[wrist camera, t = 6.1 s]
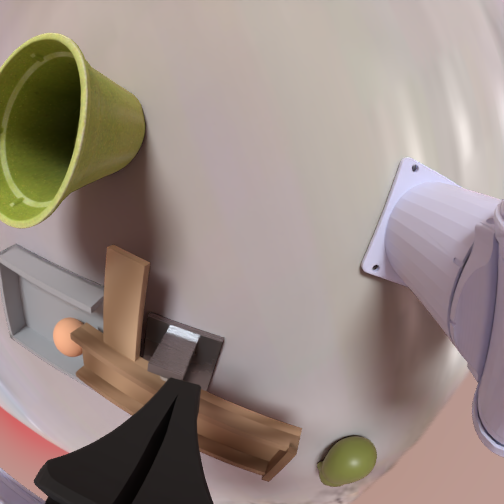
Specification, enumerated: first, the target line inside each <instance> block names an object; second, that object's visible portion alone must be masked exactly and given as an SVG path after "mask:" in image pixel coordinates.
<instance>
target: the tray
mask: <svg viewBox="0 0 504 504" xmlns="http://www.w3.org/2000/svg"><path fill="white" fill-rule="evenodd" d="M0 291H1V297H2V302H3V307H4V312H5V317H6V321H7V325H8V330H9V333H10V337H11V338H12V339H13V340H14V341H16V342H17V343H18V344H20V345H21V346H22V347H24V348H25V349H27V350H28V351H29V352H31V353H32V354H34V355H35V356H37V357H38V358H40V359H41V360H43V361H44V362H46V363H47V364H49V365H51V366H52V367H54V368H55V369H57V370H59V371H60V372H62V373H64V374H65V375H67V376H69V377H70V378H72V379H74V380H76V381H77V382H79V383H81V384H83V385H85V386H87V387H89V386H88V385H87V384H85V383H84V382H83V381H81V380H80V379H79V378H78V377H76V371H78V370H79V369H80V368H81V367H82V366H84V362H83V354H82V355H80V356H77V357H69V356H66V355H64V354H62V353H61V352H60V351H59V350H58V349H57V347H56V345H55V343H54V340H53V331H54V328H55V326H56V324H57V323H58V322H59V321H60V320H62V319H64V318H68V317H71V318H75V319H78V320H79V321H81V322H82V323H83V324H85V323H86V322H87V323H88V324H90V325H91V326H93V327H94V328H96V329H97V330H99V331H100V332H102V333H103V306H104V286H102V285H99V284H97V283H95V282H93V281H90V280H88V279H86V278H84V277H82V276H79V275H77V274H75V273H73V272H71V271H69V270H67V269H65V268H62V267H60V266H58V265H56V264H54V263H52V262H50V261H48V260H46V259H44V258H42V257H40V256H38V255H36V254H34V253H33V252H31V251H29V250H27V249H25V248H23V247H21V246H19V245H18V244H15V245H13V246H11V247H9V248H7V249H5V250H3V251H1V252H0ZM89 388H90V389H92V388H91V387H89ZM92 390H93V389H92ZM94 391H95V390H94Z"/></svg>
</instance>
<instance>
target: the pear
mask: <svg viewBox="0 0 504 504" xmlns="http://www.w3.org/2000/svg"><path fill="white" fill-rule="evenodd" d="M376 459H377V452H376V448H375V446H374V445H373V443H372V442H371V441H370V440H368V439H366V438H364V437H359V436H352V437H347V438H344V439H342V440H340V441H338V442H337V443H336V444H335V445H334V446H333V447H332V448H331V449H330V451H329V452H328V454H327V455H326V457H325V459H324V461H322V462H319V463H318V464H317V468H318V470H319V477H320V480H321V482H322V483H323V484H325V485H327V486H331V487H338V486H342V485H344V484H349V483H352V482H355V481H358V480H360V479H362V478H364V477H365V476H367V475H368V474H369V473H370V472H371V471H372V469H373V468H374V466H375V463H376Z"/></svg>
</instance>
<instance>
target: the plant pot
mask: <svg viewBox="0 0 504 504" xmlns="http://www.w3.org/2000/svg"><path fill="white" fill-rule="evenodd" d="M144 134H145V121H144V115H143V111H142V107H141V104H140V102H139V100H138V99H137V98H136V97H135V96H134V95H133V94H132V93H130V92H129V91H127V90H126V89H124V88H123V87H121V86H119V85H118V84H116V83H115V82H113V81H112V80H110V79H109V78H107V77H106V76H104V75H103V74H101V73H100V72H98V71H97V70H95V69H94V68H92V67H91V66H90V64H89V63H88V62H87V61H86V60H85V58H84V55H83V53H82V52H81V50H80V48H79V47H78V45H77V44H76V43H75V42H74V41H72V40H71V39H69V38H68V37H66V36H64V35H61V34H57V33H46V34H41V35H38V36H35V37H33V38H31V39H29V40H28V41H26V42H25V43H24V44H22V45H21V46H20V47H18V48H17V49H16V50H15V51H14V52H13V53H12V54H11V55H10V56H9V57H8V59H7V60H6V61H5V62H4V64H3V65H2V66H1V68H0V220H1V221H2V222H3V223H5V224H7V225H9V226H11V227H15V228H20V229H21V228H29V227H32V226H35V225H37V224H39V223H41V222H42V221H44V220H45V219H47V218H48V217H49V216H50V215H51V214H52V213H53V212H54V211H55V210H56V209H57V208H58V206H59V205H60V204H61V202H62V201H63V200H64V199H65V198H66V197H67V196H68V195H69V194H70V193H71V192H73V191H75V190H77V189H79V188H81V187H83V186H85V185H87V184H90V183H92V182H94V181H96V180H98V179H100V178H103V177H105V176H108V175H110V174H112V173H115V172H117V171H119V170H120V169H122V168H124V167H125V166H126V165H127V164H129V163H130V162H131V161H132V159H133V158H134V157H135V155H136V154H137V152H138V150H139V149H140V147H141V144H142V141H143V138H144Z"/></svg>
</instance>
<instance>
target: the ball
mask: <svg viewBox="0 0 504 504" xmlns="http://www.w3.org/2000/svg"><path fill="white" fill-rule="evenodd" d="M82 325H83V323H82V322H81V321H79V320H78V319H75V318H71V317H68V318H64V319H62V320H60V321H59V322H58V323H57V324H56V326H55V328H54V331H53V340H54V343H55V345H56V347H57V349H58V350H59V351H60V352H61V353H62V354H64V355H66V356H69V357H77V356H80V355H82V354H83V353H82V347H80V346H79V345H78V344H76V343H75V342H74V341H73V340H71V337H70V333H71V332H73V331H74V330H76V329H77V328H79V327H80V326H82Z"/></svg>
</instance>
